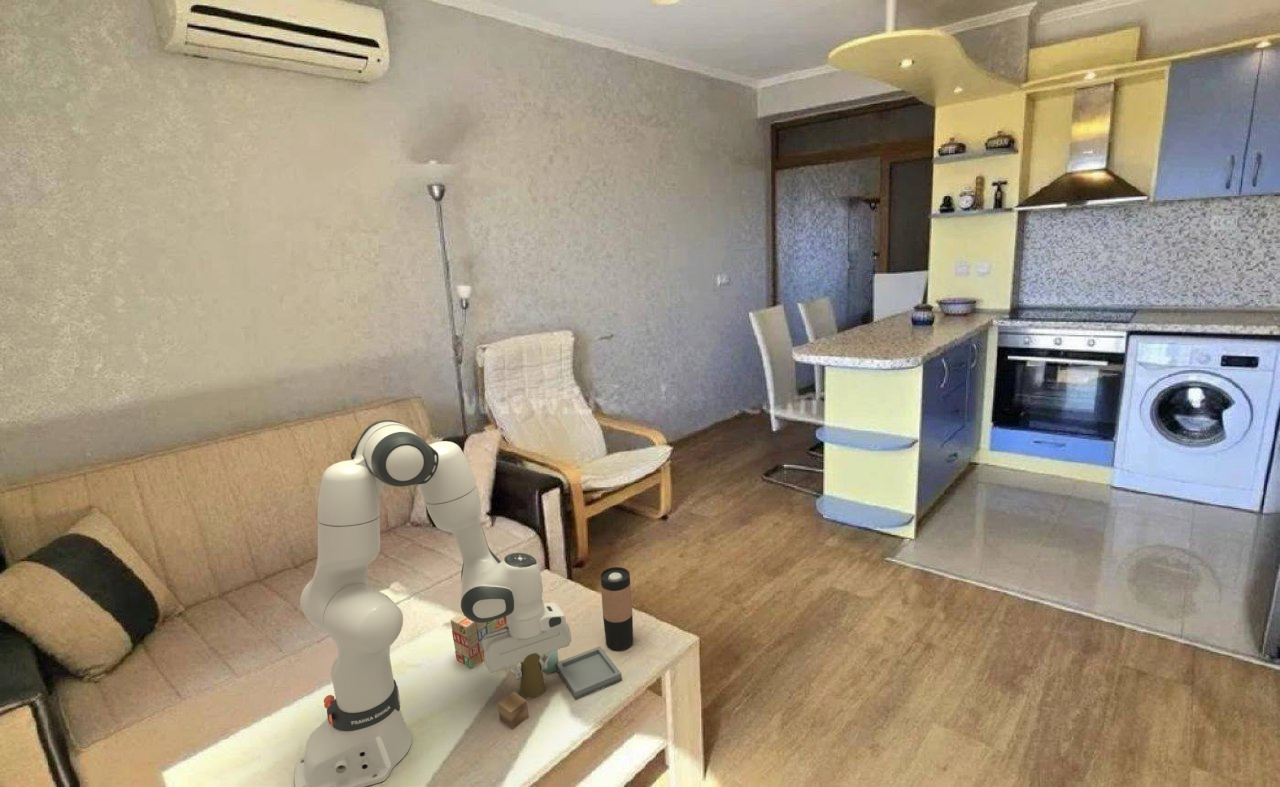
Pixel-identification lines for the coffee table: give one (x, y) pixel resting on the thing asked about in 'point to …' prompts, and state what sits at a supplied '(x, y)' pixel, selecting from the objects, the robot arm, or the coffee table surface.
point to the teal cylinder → (551, 662)
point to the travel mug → (617, 608)
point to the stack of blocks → (472, 638)
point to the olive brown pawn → (531, 677)
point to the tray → (588, 672)
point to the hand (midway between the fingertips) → (531, 672)
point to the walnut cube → (513, 710)
